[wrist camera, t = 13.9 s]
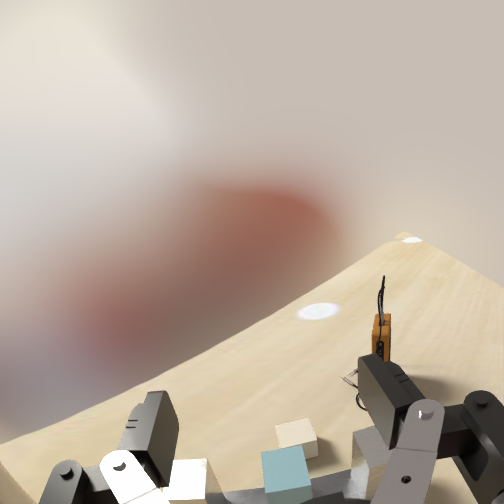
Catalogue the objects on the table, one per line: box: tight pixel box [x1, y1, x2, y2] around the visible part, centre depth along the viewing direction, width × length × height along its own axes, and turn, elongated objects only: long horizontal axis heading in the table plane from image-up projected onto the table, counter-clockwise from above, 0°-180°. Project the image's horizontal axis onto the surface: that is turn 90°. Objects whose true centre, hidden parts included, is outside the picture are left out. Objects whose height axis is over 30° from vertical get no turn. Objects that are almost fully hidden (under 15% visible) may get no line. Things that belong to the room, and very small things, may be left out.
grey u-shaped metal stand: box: [163, 426, 393, 504], centre depth 29 cm, size 26×8×10 cm, turn 93°
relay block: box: [275, 418, 318, 459], centre depth 40 cm, size 5×5×4 cm
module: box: [261, 445, 313, 504], centre depth 29 cm, size 4×6×9 cm
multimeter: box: [339, 275, 391, 411], centre depth 50 cm, size 15×10×20 cm
